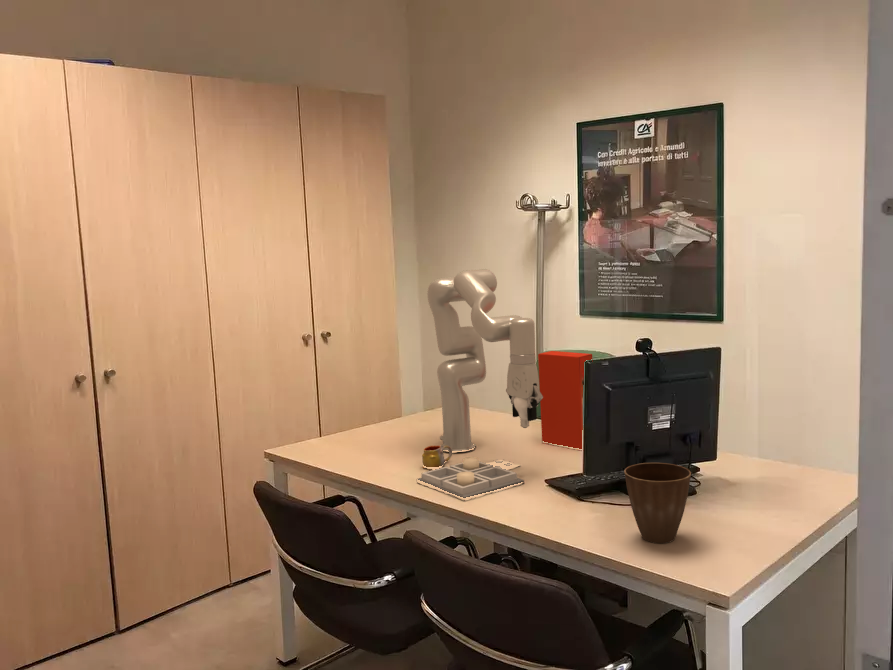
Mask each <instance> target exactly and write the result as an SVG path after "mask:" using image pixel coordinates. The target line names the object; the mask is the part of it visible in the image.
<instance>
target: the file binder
mask: <svg viewBox="0 0 893 670" xmlns="http://www.w3.org/2000/svg"><path fill="white" fill-rule="evenodd" d="M537 356H538V357H537V359H538V361H537V362H538V378H539V391H540V393H541V394H542V396H543V398H542V400H541V401H540V403H539V407H540V424H541V425H540V426H541V427H540V428H541V442H542V441H544V442H548V443H552V444H557V445H563V446H568V447H573V448H579V449H582V430H583V385H584V362H585V361H586V360H591V359H592V360H593V354H592V353H584V352H571V351H561V350H560V351H557V350H549V351H545V352H540V353H538V354H537Z"/></svg>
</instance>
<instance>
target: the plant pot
mask: <svg viewBox="0 0 893 670" xmlns="http://www.w3.org/2000/svg"><path fill="white" fill-rule="evenodd" d="M623 471H624V478H625V482H626V483H625V484H626V489H627V495H628V498H629V502H630V506H631V510H632V513H633V516H634V520H635V522H636V523H635V524H636V525H637V527H638V530H639V533H640V535H641V538H642V539H643V540H644V541H646V542H649V543H653V542H654V544H666V542H668V543H671V542H674V540H675V538H676V536H677V534H678V530H679V528H680V525H681V523H682V519H683V516H684V512H685V509H686V505H687V500H688V497H689V496H688V495H689V489H690V482H691V476H692V472H691V471H690V469H689V468H688V467H684V466H682V465H678V464H673V463H667V462H643V463H642V462H641V463H637V464H632V465H629V466H627V467H626V468H625V469H624V470H623ZM670 541H671V542H670Z"/></svg>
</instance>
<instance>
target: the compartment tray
mask: <svg viewBox="0 0 893 670" xmlns="http://www.w3.org/2000/svg"><path fill="white" fill-rule="evenodd" d="M420 476H421V477H419V478H417V479H418V480H420V481H423V482H425V483H428V484H431V485H433V486H435V487H438V488H440V489H442V490H444V491H447V492H449V493H452V494H455V495H457V496H460V497H463V498H466V497H470V496H474V495H478V494H482V493H486V492H490V491H494V490H497V489H501V488H504V487H507V486H510V485H514V484H518V483H521V482H524V483H525V479H522V478H519V477H518V473H517V472H515V471H512V470H506V469H502V468H499V467H493V465H490V464H486V462H482V461H480V458H478V457H475V456H469V457H465V458H462V462H460V463H455V464H452V465H449V466H445V467H444V466H443V467H442V468H439V469H435V470H428V471H425V472H421V474H420Z"/></svg>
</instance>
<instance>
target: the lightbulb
mask: <svg viewBox="0 0 893 670" xmlns="http://www.w3.org/2000/svg"><path fill="white" fill-rule="evenodd" d="M531 397H532V396H531ZM532 401H533V399H531V402H532ZM514 407H515V408H516V410H517V411H518V413H519V416H518V417H519V419H520V427H521V428H523V429H527V428H529V427H530V421H528V419H527V408H529V406H528V403H527V399H522V398H518V397H515V398H514Z"/></svg>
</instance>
